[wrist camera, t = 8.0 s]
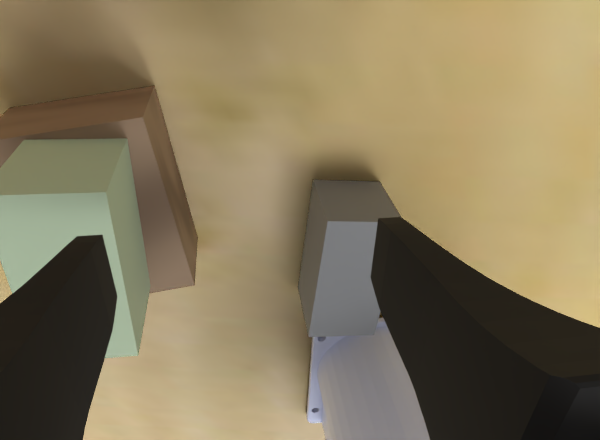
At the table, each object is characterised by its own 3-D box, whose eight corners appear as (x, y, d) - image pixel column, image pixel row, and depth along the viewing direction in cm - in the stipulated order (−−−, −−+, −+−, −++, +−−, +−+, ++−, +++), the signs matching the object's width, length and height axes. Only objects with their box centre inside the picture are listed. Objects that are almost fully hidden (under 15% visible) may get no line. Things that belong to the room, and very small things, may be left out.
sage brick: (150, 285, 21) (138, 355, 18) (67, 290, 21) (38, 363, 17) (127, 138, 17) (106, 192, 14) (24, 139, 17) (-24, 196, 13)
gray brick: (355, 285, 28) (374, 335, 25) (297, 285, 27) (308, 336, 24) (379, 180, 24) (404, 222, 21) (312, 178, 24) (327, 221, 20)
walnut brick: (197, 235, 25) (194, 285, 21) (81, 255, 24) (59, 309, 21) (155, 84, 20) (142, 117, 17) (12, 105, 20) (-29, 144, 17)
